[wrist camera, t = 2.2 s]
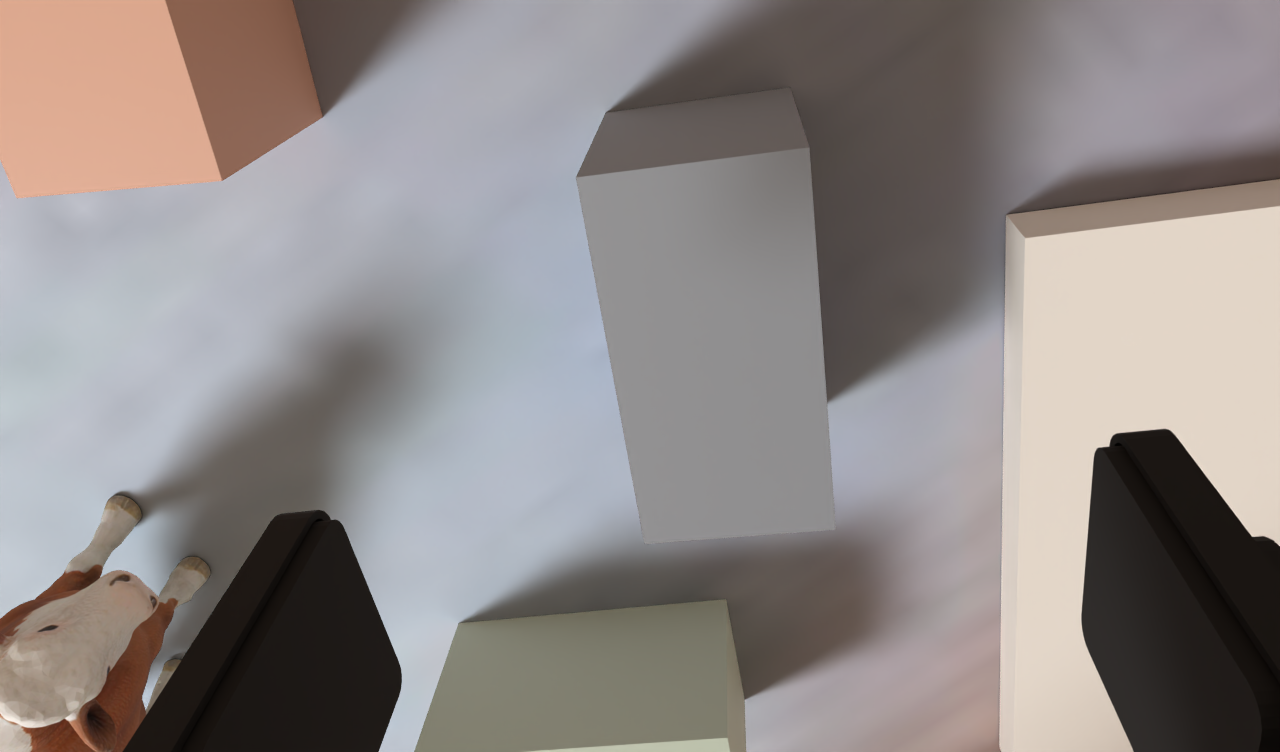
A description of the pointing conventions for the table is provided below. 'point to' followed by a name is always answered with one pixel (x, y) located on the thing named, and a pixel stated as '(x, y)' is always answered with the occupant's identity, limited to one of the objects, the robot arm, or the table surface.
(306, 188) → the table surface
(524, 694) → the sage brick
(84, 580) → the bull figurine
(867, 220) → the table surface
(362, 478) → the table surface
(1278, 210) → the white board
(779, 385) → the slate brick
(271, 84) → the terracotta brick
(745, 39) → the table surface
